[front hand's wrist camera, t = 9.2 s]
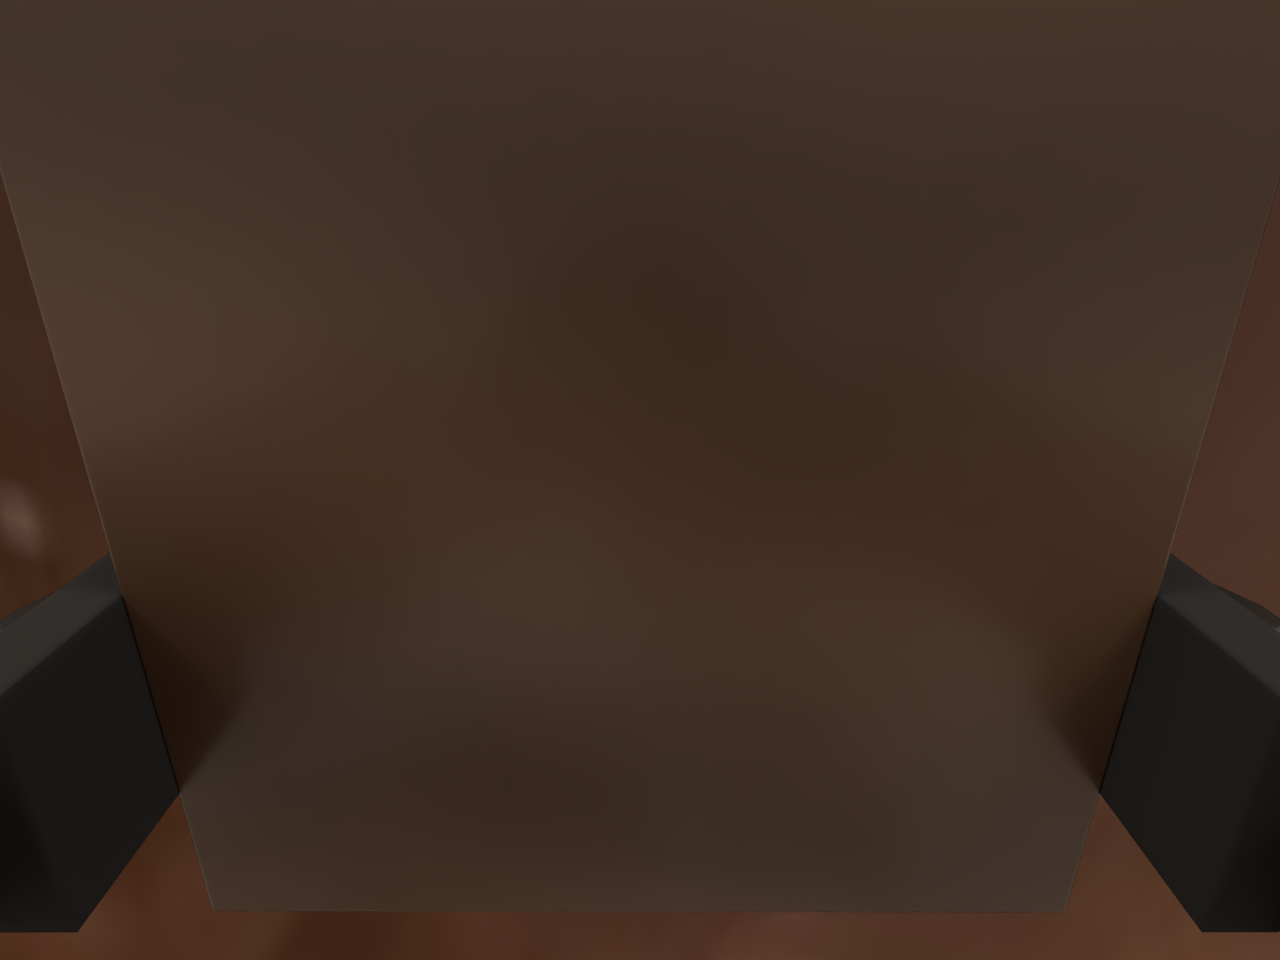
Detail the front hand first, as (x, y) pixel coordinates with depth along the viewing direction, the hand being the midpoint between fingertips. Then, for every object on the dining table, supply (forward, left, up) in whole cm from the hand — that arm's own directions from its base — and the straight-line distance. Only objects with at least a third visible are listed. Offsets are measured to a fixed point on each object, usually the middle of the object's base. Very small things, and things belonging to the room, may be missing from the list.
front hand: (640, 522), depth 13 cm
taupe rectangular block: (+4, -4, -5) cm, 8 cm away
